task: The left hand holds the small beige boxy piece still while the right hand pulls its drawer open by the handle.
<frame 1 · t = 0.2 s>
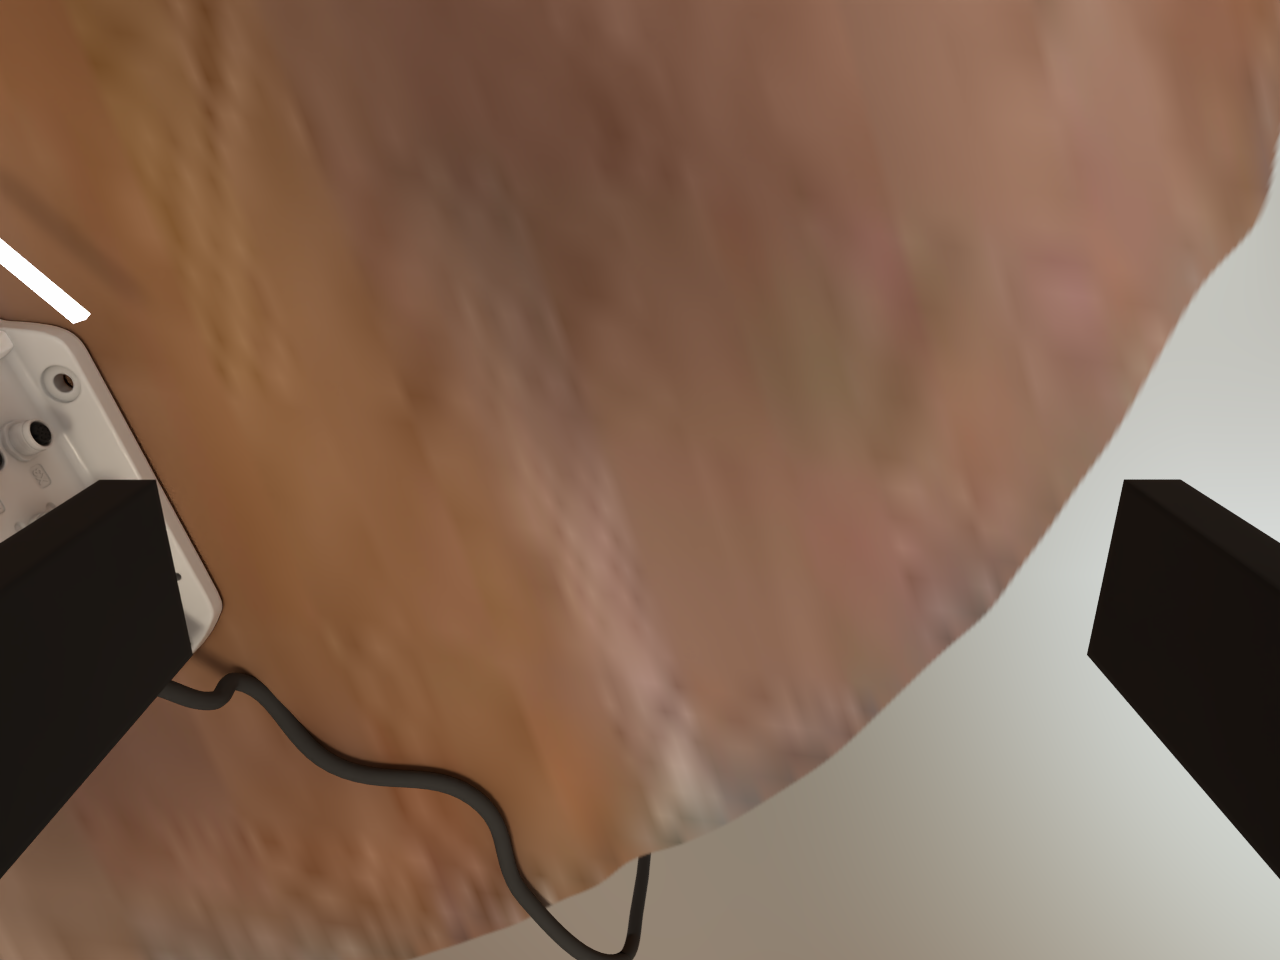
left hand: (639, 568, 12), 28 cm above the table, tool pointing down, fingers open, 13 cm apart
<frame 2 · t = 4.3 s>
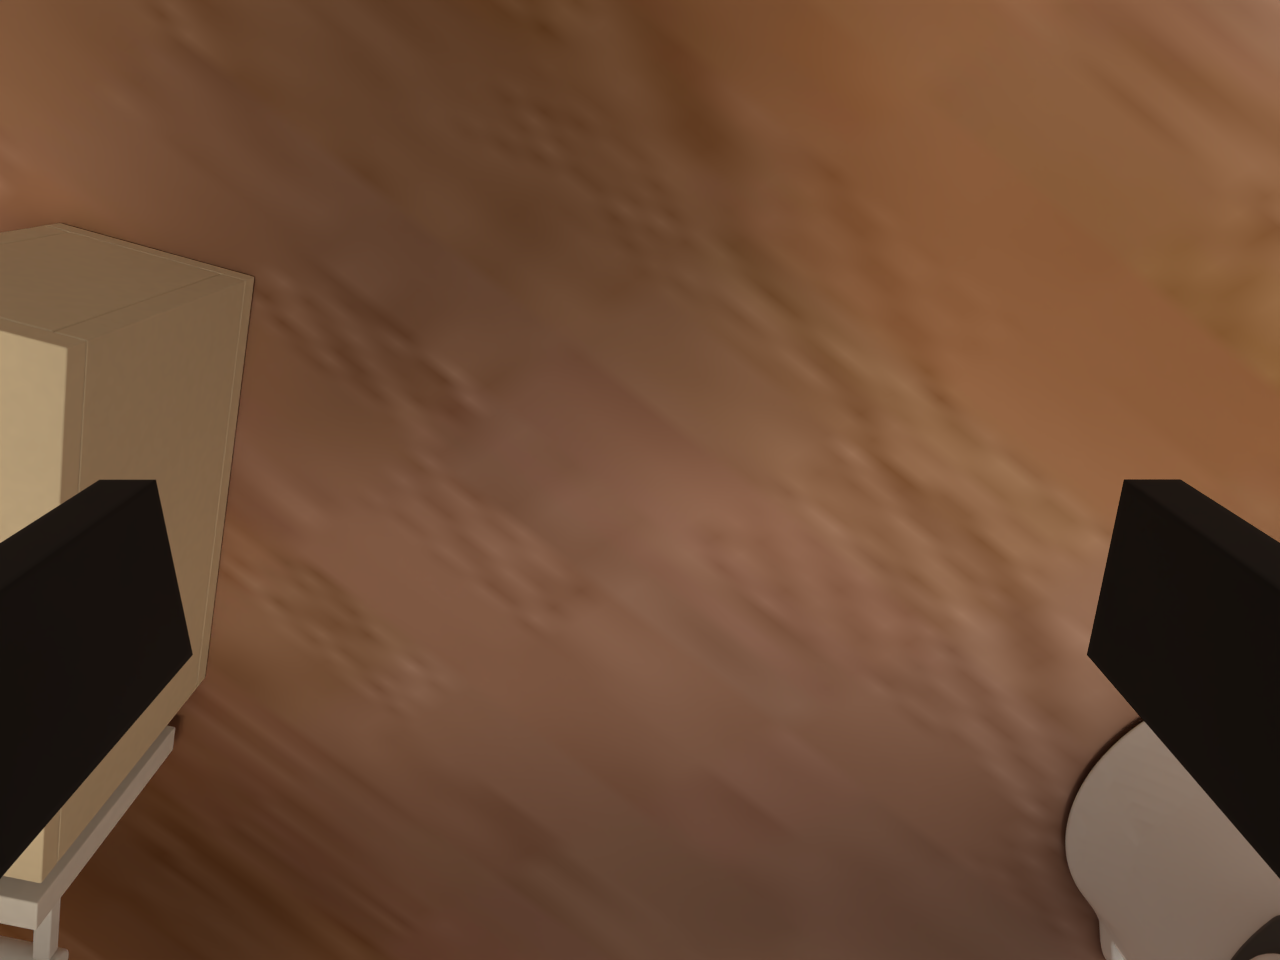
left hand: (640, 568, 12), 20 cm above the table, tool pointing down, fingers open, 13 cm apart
drawer: (42, 702, 31), point 5 cm above the table, slide at 2.0 cm
beige boxy piece: (139, 472, 33), on the table
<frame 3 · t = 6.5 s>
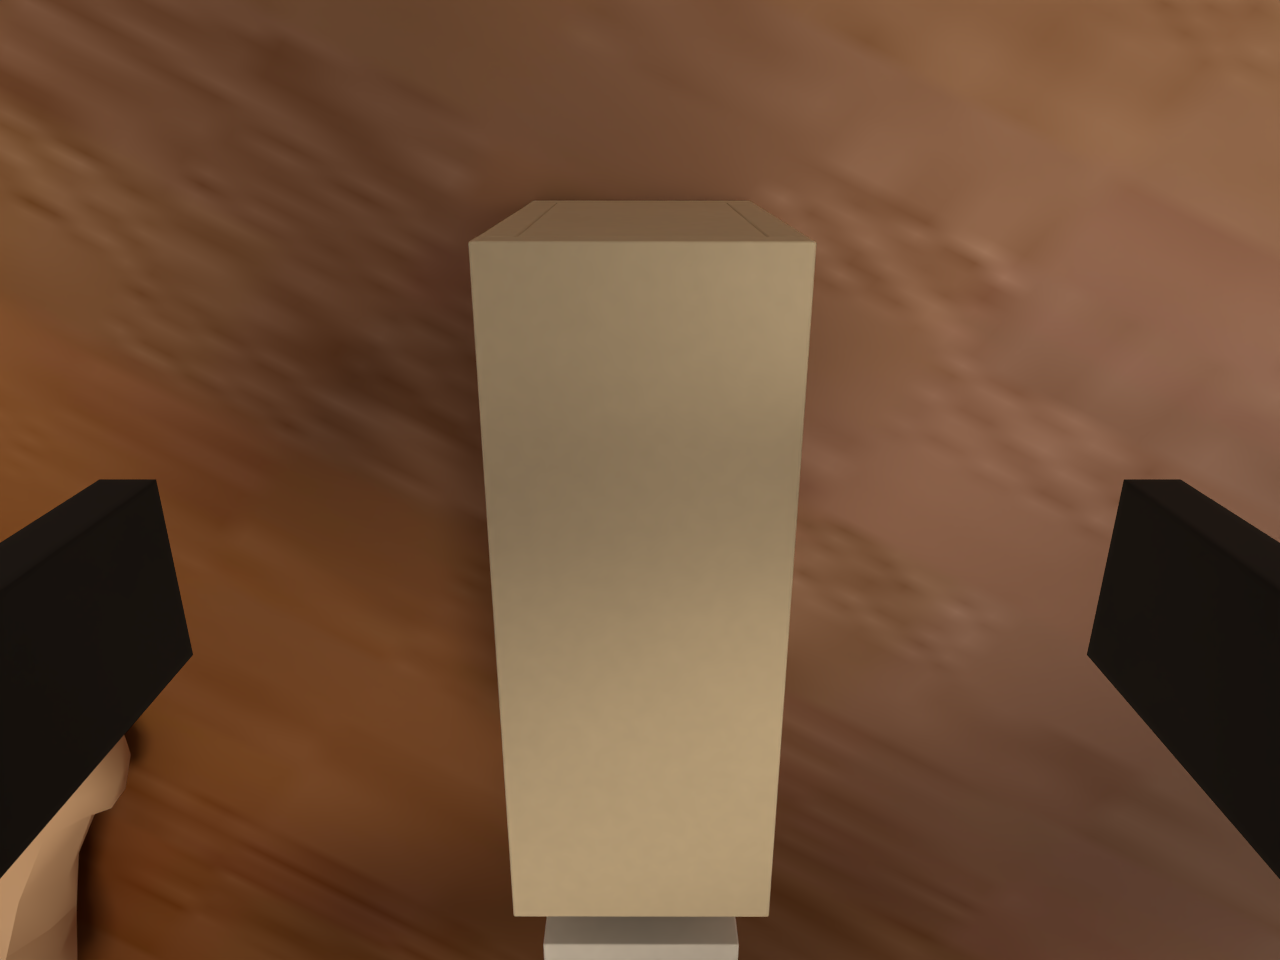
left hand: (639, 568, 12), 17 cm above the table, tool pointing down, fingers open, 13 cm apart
drawer: (641, 729, 27), point 5 cm above the table, slide at 2.0 cm
beige boxy piece: (641, 464, 30), on the table
squash: (11, 855, 36), on the table
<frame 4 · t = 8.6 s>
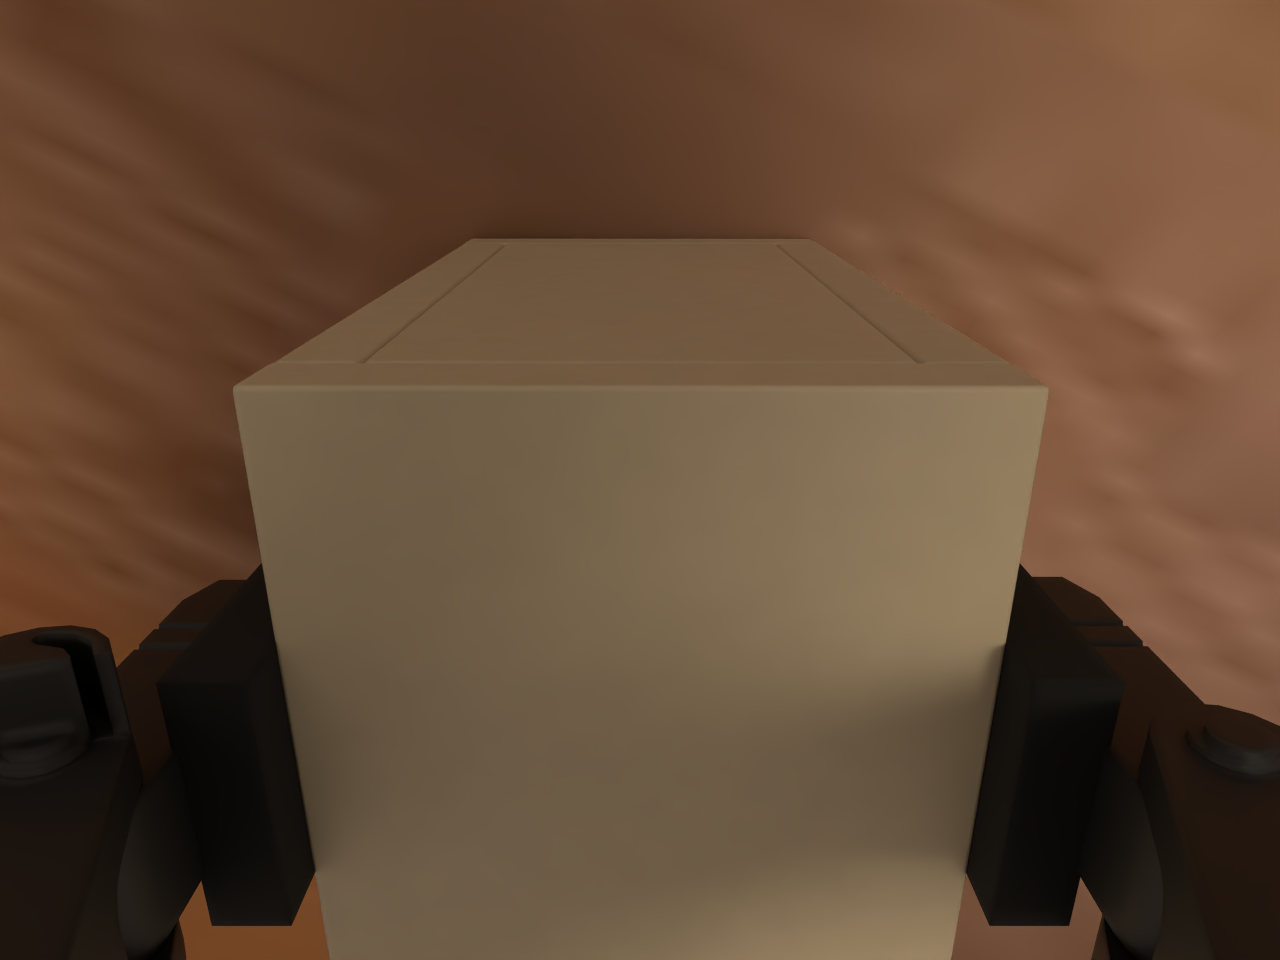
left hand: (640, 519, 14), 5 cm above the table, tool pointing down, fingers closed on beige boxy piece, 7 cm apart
beige boxy piece: (640, 622, 20), on the table, touching left hand
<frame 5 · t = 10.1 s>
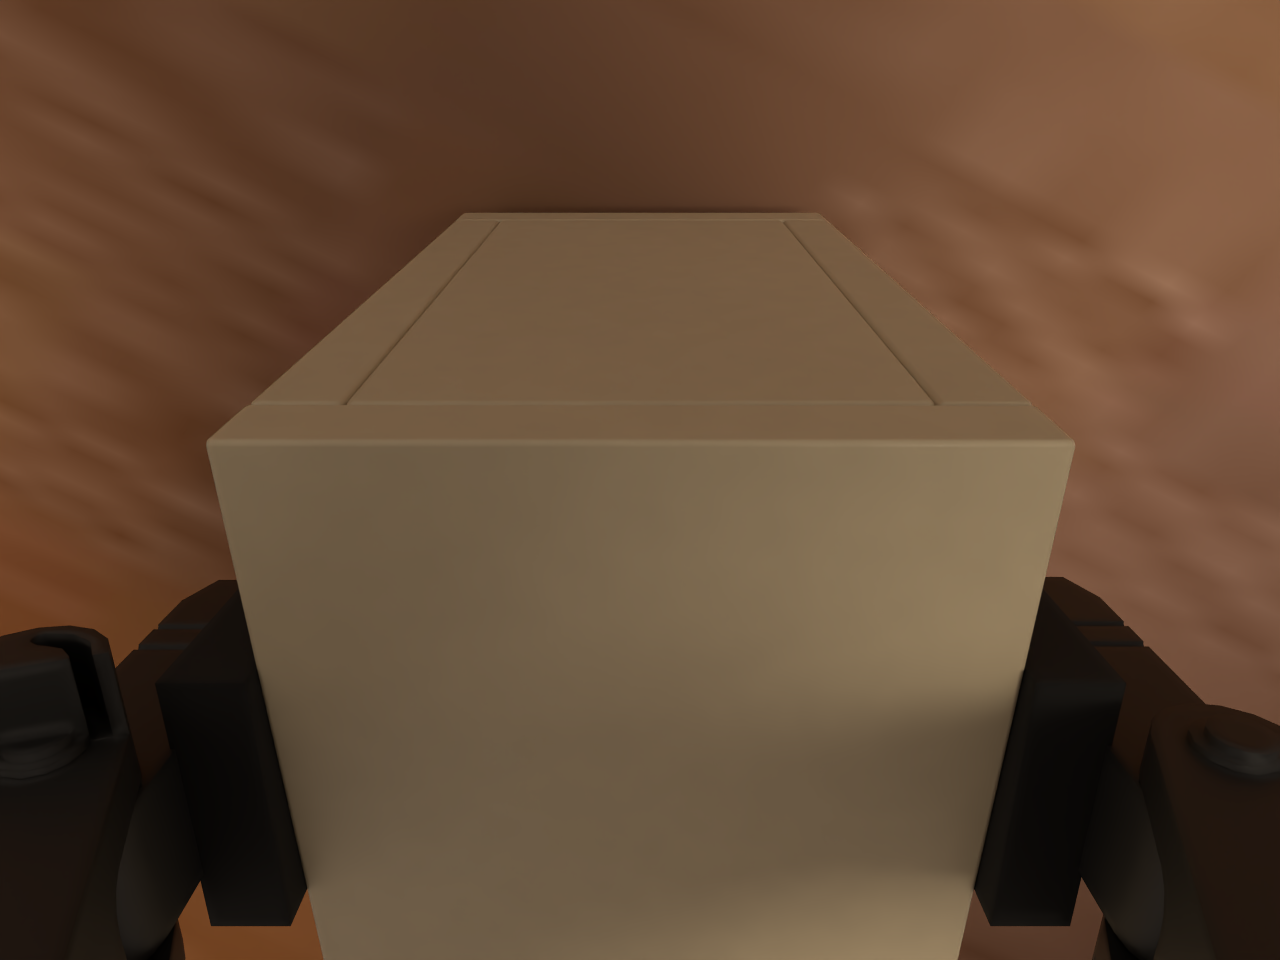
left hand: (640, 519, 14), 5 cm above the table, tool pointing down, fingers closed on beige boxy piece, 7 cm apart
beige boxy piece: (641, 600, 20), on the table, touching left hand
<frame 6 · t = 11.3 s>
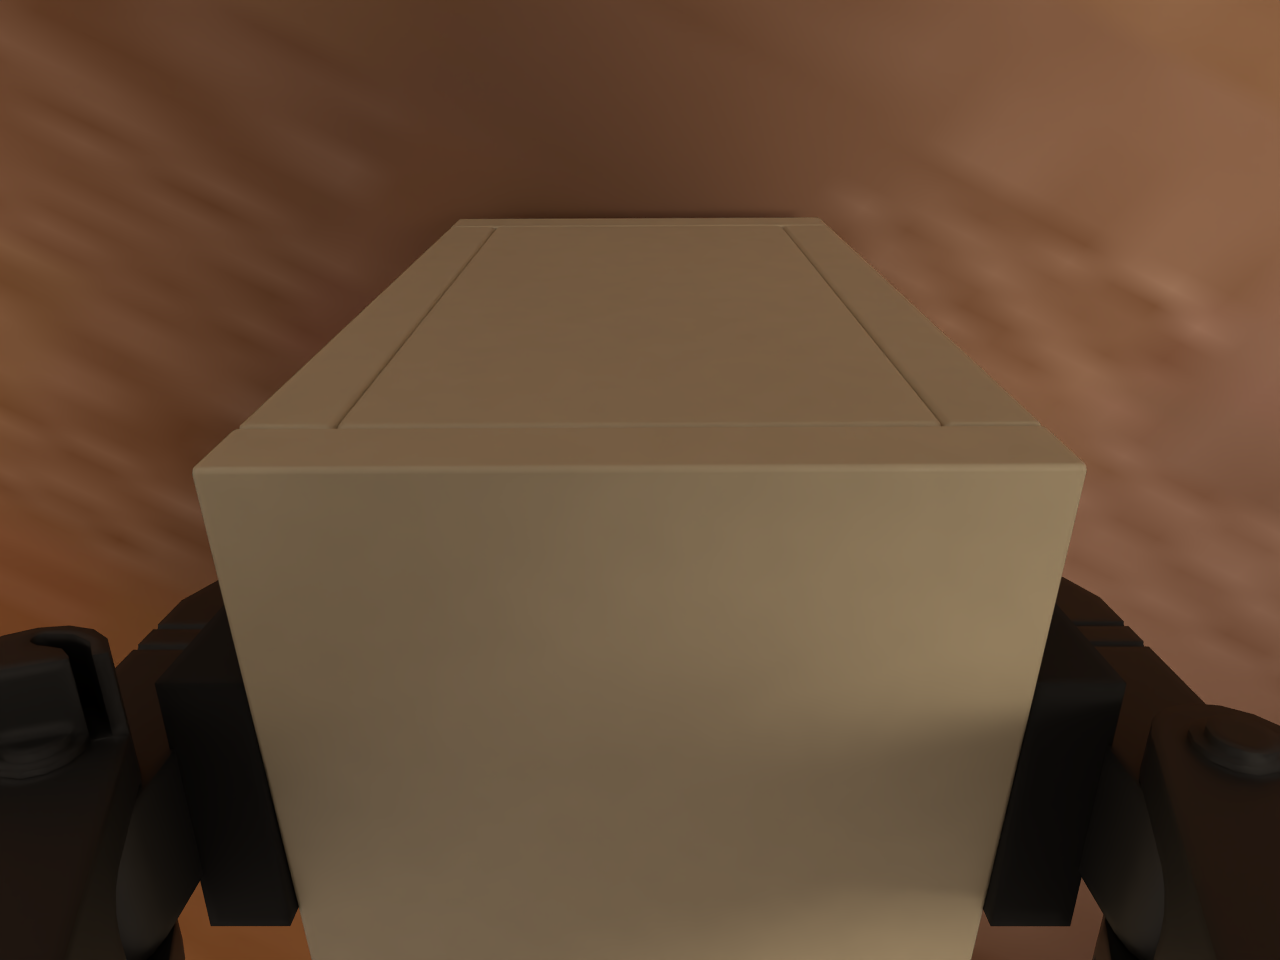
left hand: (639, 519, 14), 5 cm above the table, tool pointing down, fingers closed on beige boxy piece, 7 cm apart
beige boxy piece: (640, 607, 20), point 1 cm above the table, touching left hand
when the left hand's fingers open (5 cm above the table, at t = 12.6 s): beige boxy piece stays where it is, on the table.
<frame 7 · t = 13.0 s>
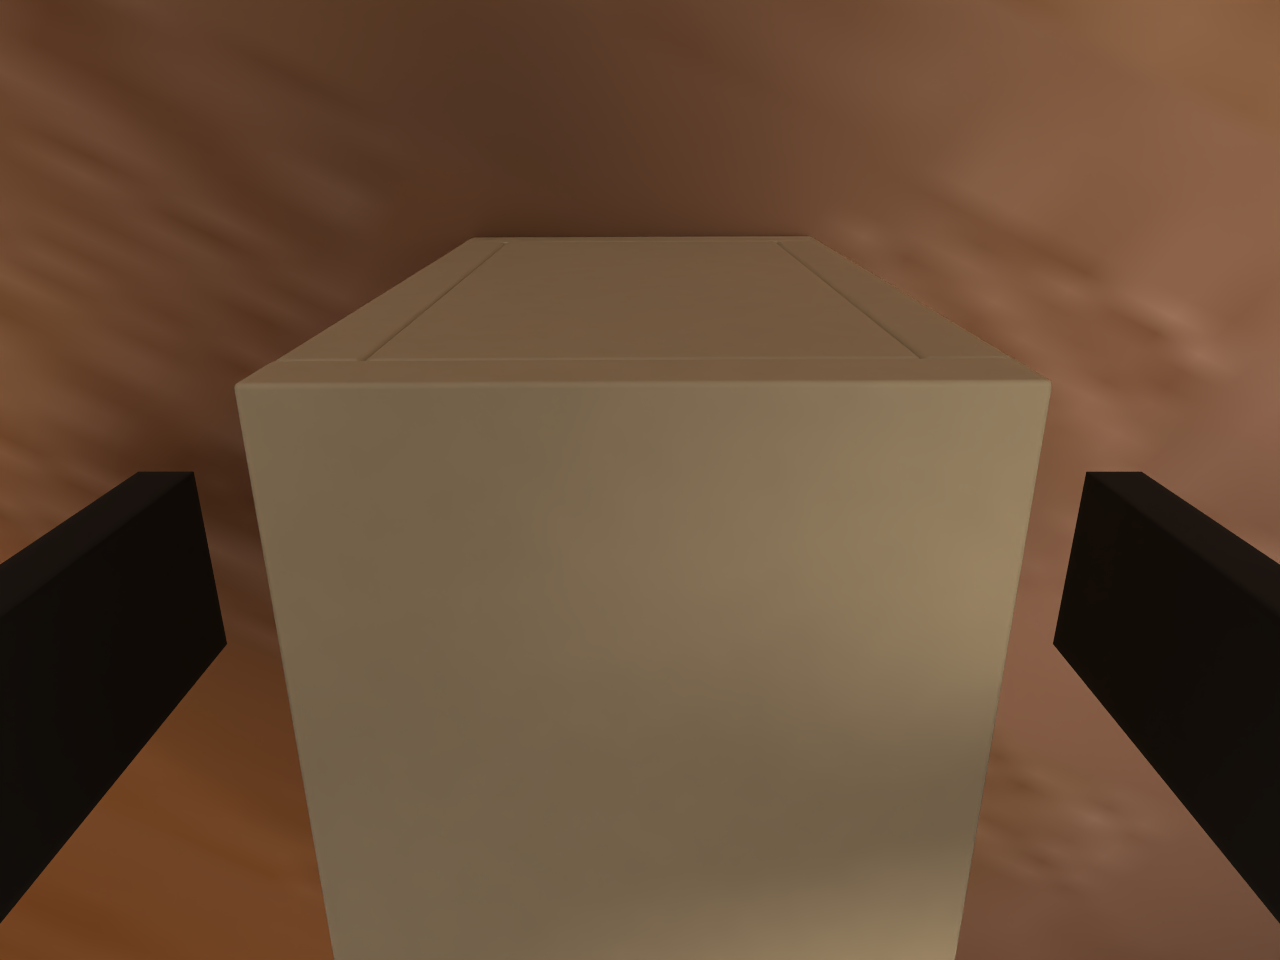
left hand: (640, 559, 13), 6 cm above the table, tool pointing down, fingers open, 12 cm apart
beige boxy piece: (642, 620, 20), on the table
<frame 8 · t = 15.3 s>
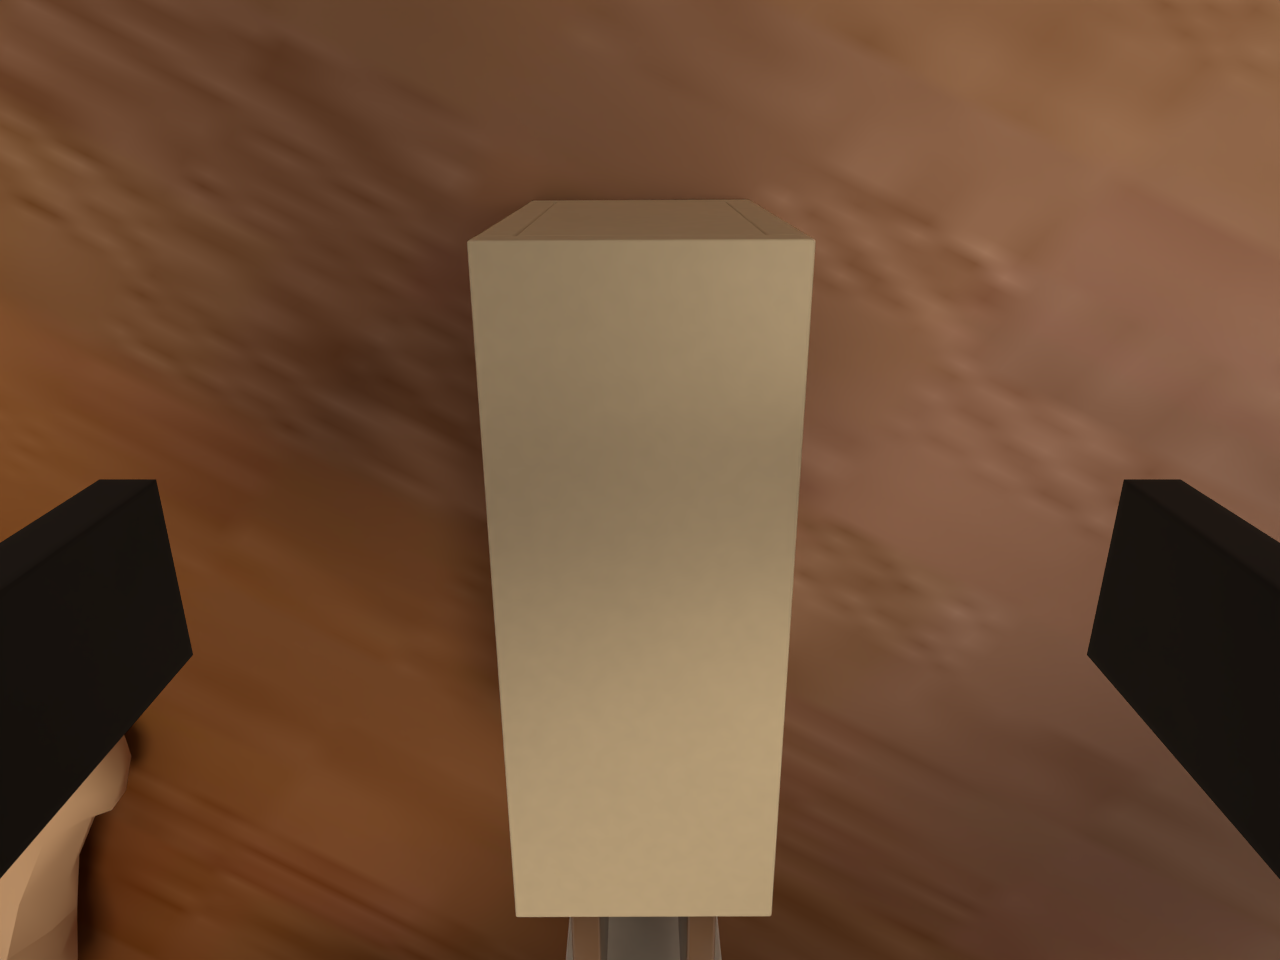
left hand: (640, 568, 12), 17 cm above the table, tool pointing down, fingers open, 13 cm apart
drawer: (643, 875, 30), point 5 cm above the table, slide at 7.8 cm
beige boxy piece: (641, 463, 30), on the table
squash: (12, 857, 36), on the table
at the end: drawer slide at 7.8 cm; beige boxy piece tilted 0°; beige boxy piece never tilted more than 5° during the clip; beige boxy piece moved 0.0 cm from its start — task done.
